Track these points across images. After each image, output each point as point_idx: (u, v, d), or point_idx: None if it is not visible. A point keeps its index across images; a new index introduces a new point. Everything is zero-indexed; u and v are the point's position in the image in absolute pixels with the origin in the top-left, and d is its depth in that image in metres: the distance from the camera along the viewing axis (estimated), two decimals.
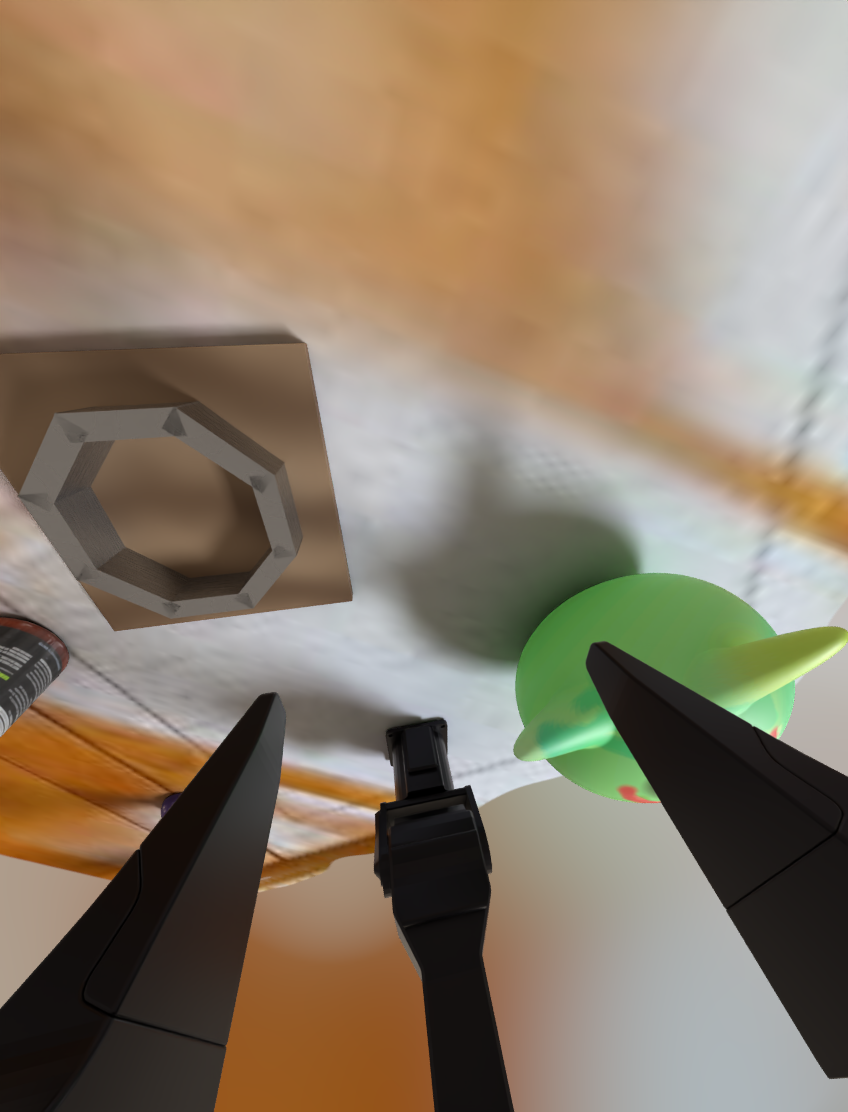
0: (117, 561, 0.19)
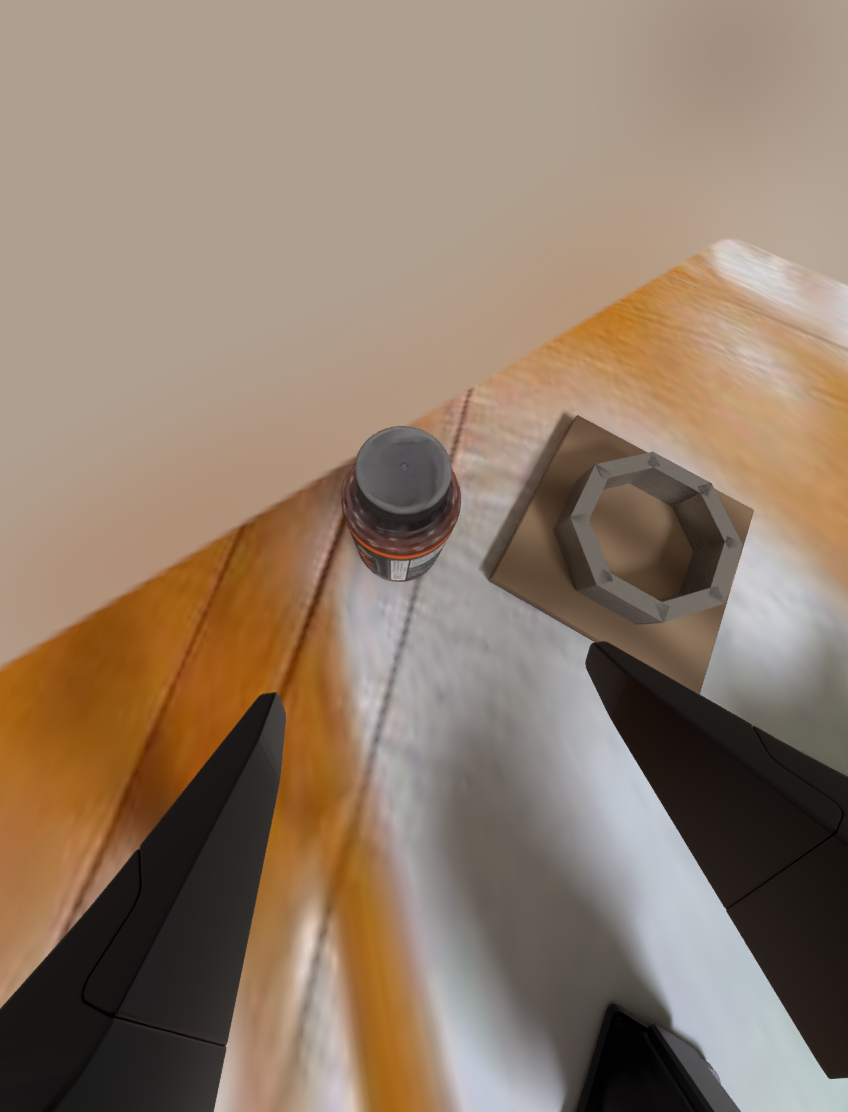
0: None
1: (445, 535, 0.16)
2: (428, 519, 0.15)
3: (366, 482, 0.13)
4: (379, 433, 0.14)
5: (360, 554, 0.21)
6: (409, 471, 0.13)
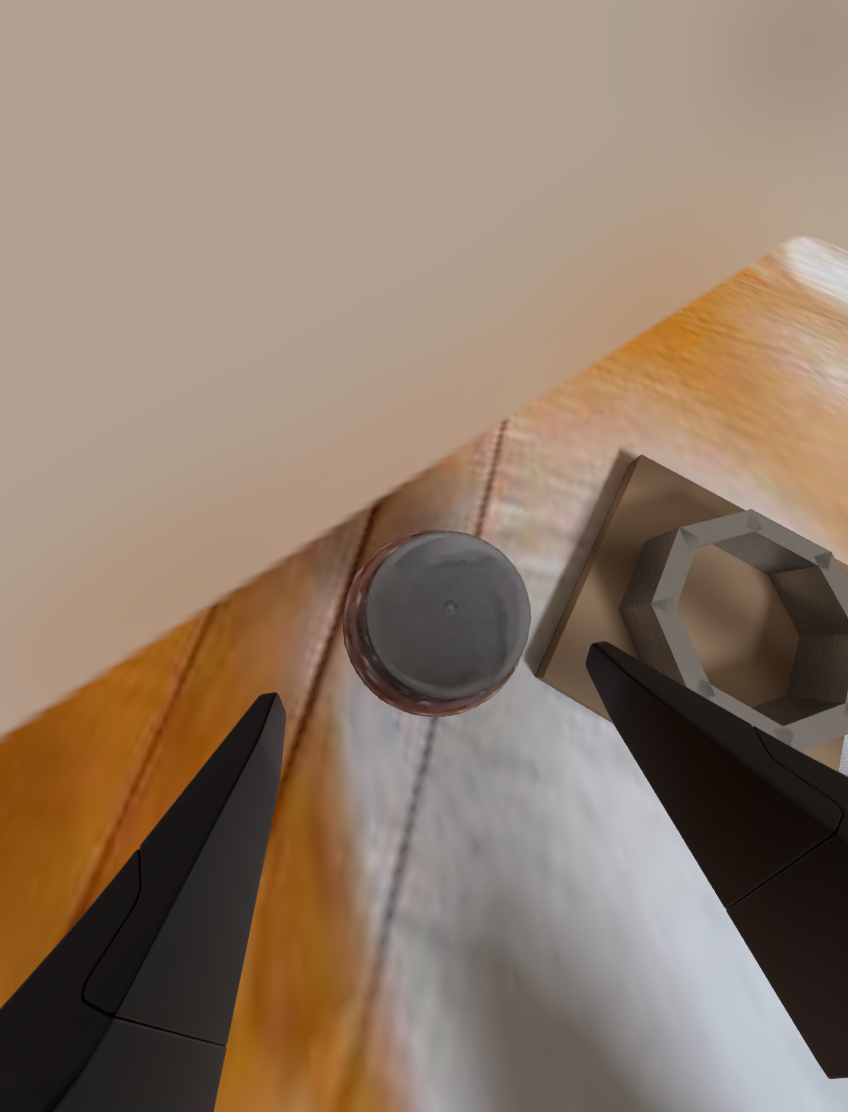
0: None
1: (504, 683, 0.10)
2: None
3: (386, 641, 0.07)
4: (407, 546, 0.08)
5: None
6: (460, 617, 0.08)
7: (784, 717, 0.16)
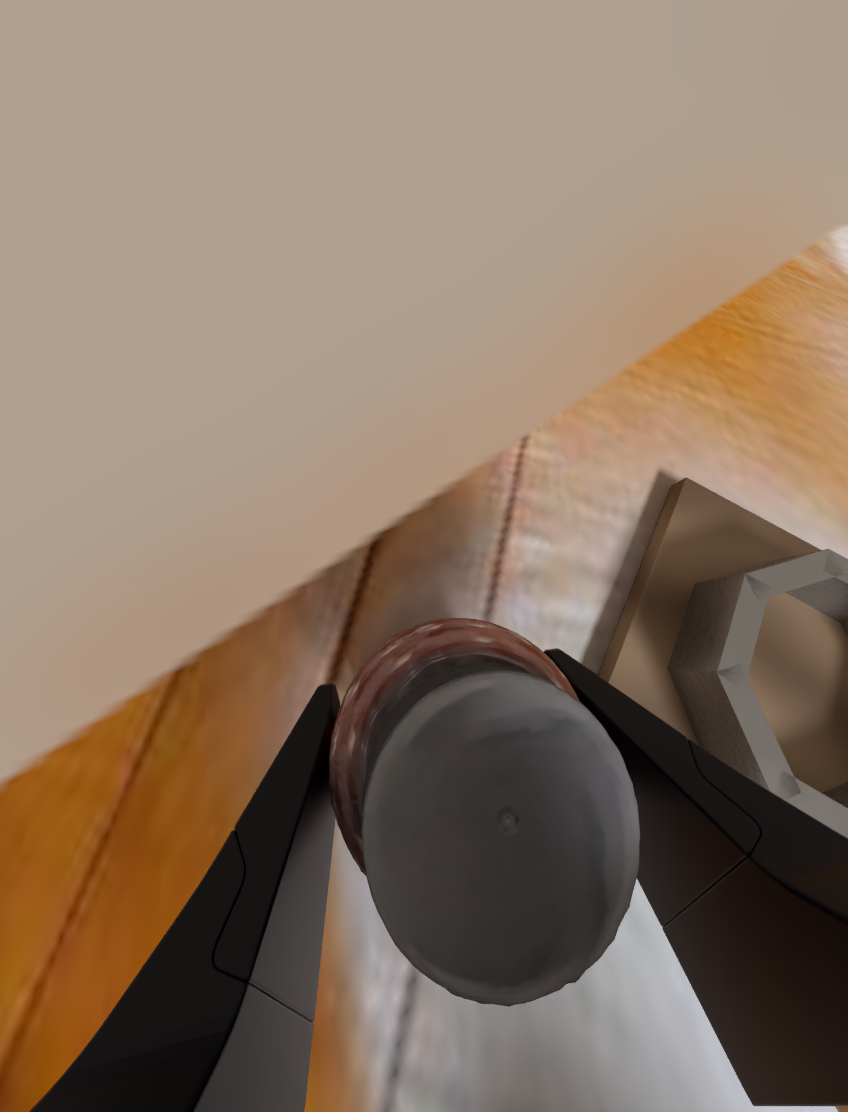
0: None
1: None
2: None
3: (397, 900, 0.04)
4: (431, 706, 0.05)
5: None
6: (525, 840, 0.04)
7: None
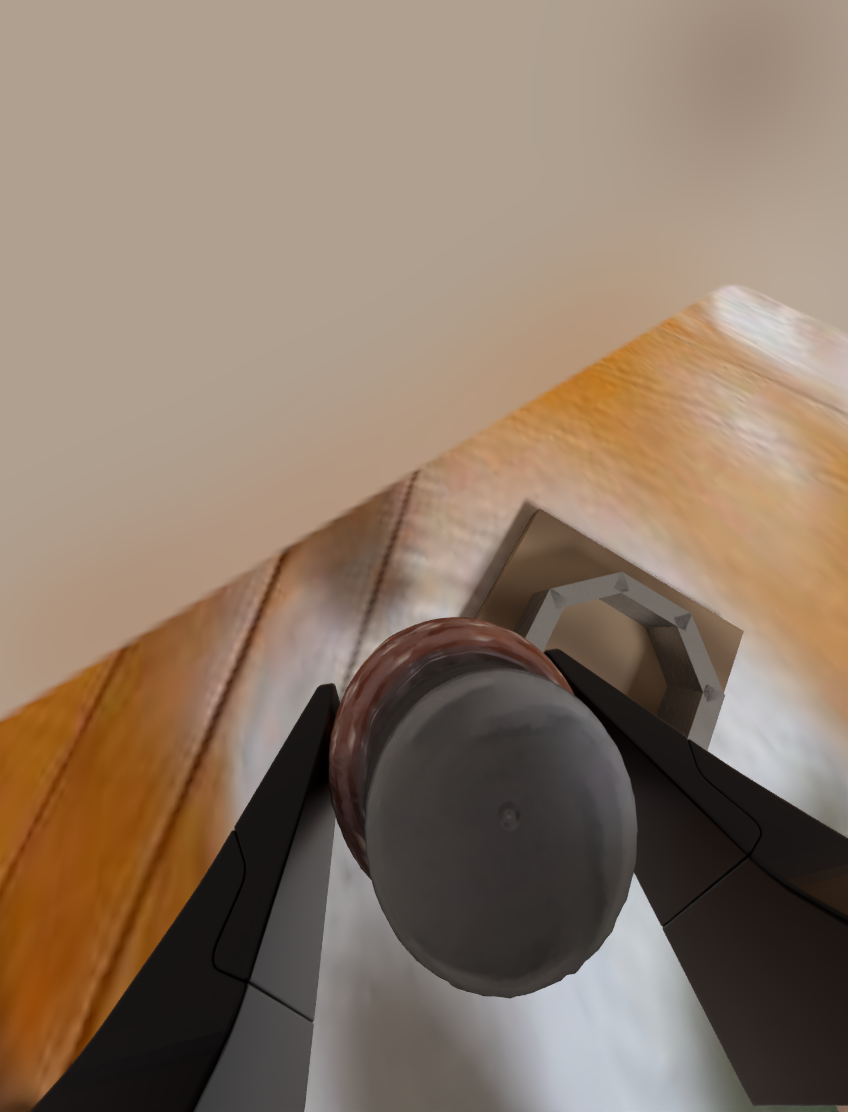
0: None
1: None
2: None
3: (400, 895, 0.04)
4: (433, 703, 0.05)
5: None
6: (526, 834, 0.05)
7: None
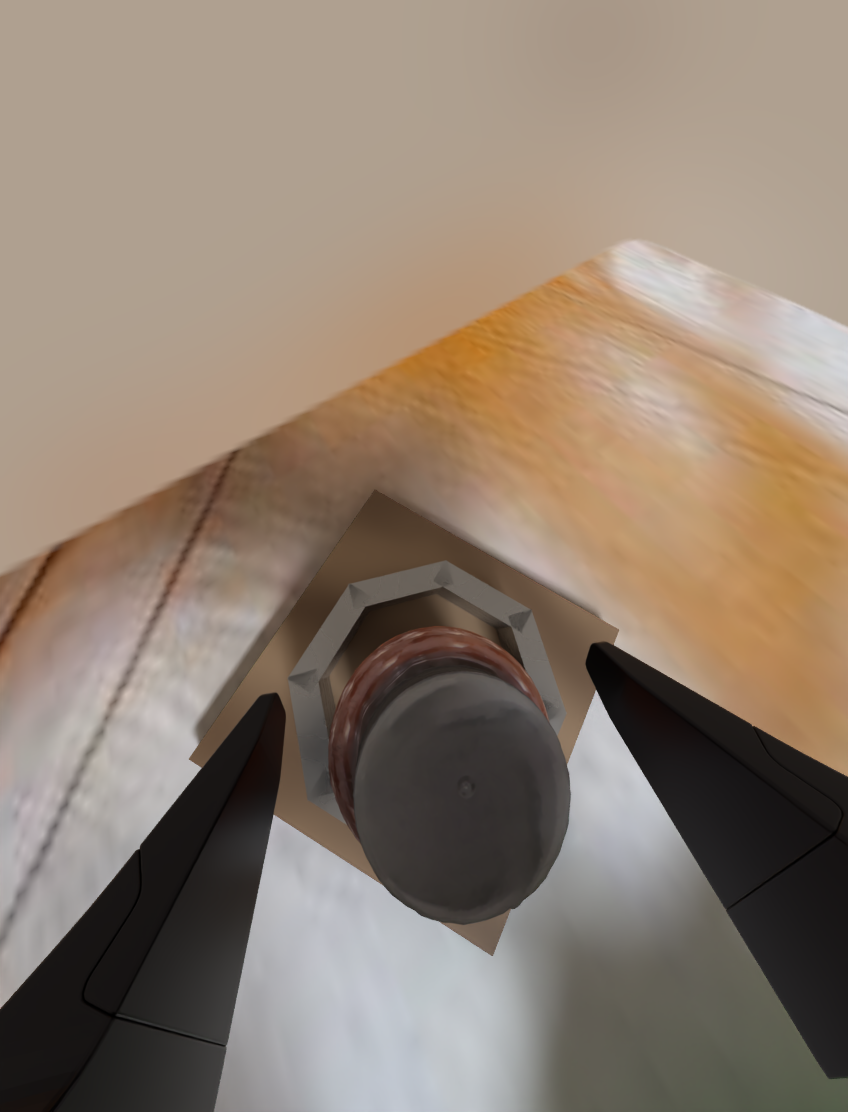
0: (325, 686, 0.15)
1: None
2: None
3: (380, 845, 0.05)
4: (408, 699, 0.06)
5: None
6: (479, 802, 0.06)
7: None
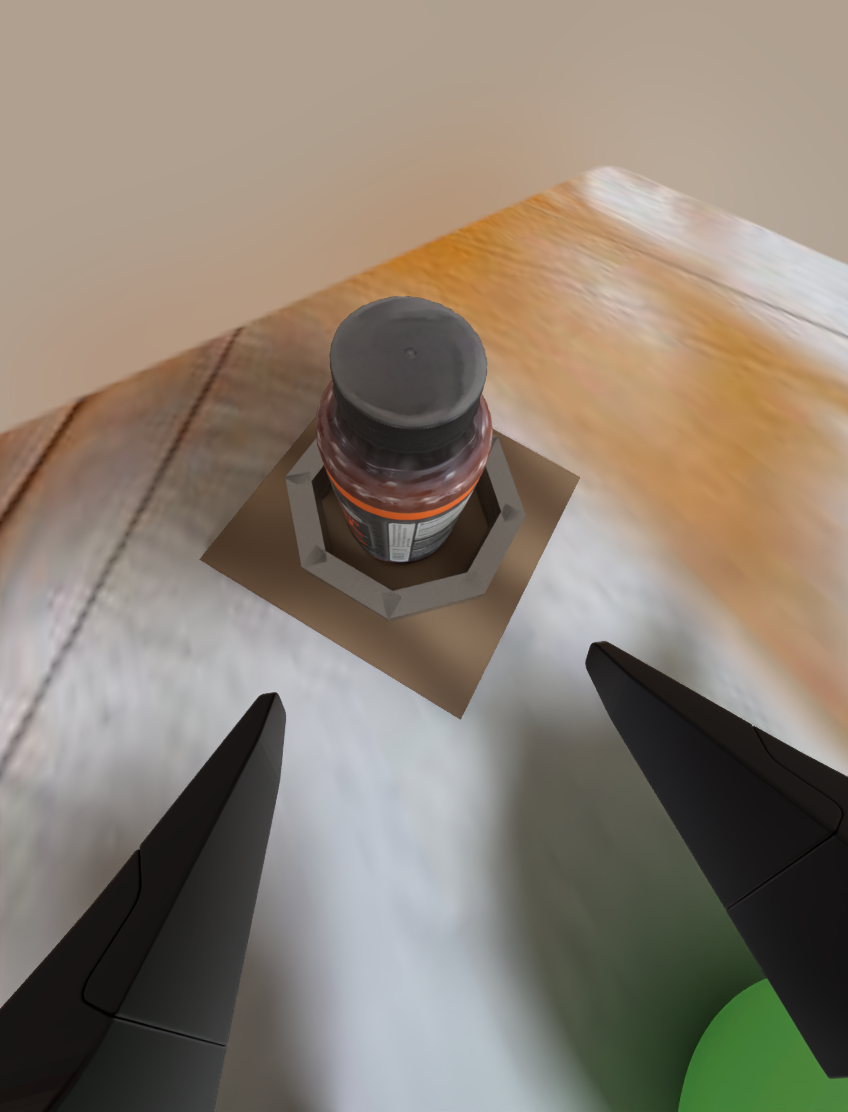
0: (317, 496, 0.17)
1: (470, 483, 0.10)
2: (447, 452, 0.09)
3: (347, 375, 0.08)
4: (370, 304, 0.08)
5: (349, 525, 0.16)
6: (419, 361, 0.08)
7: None
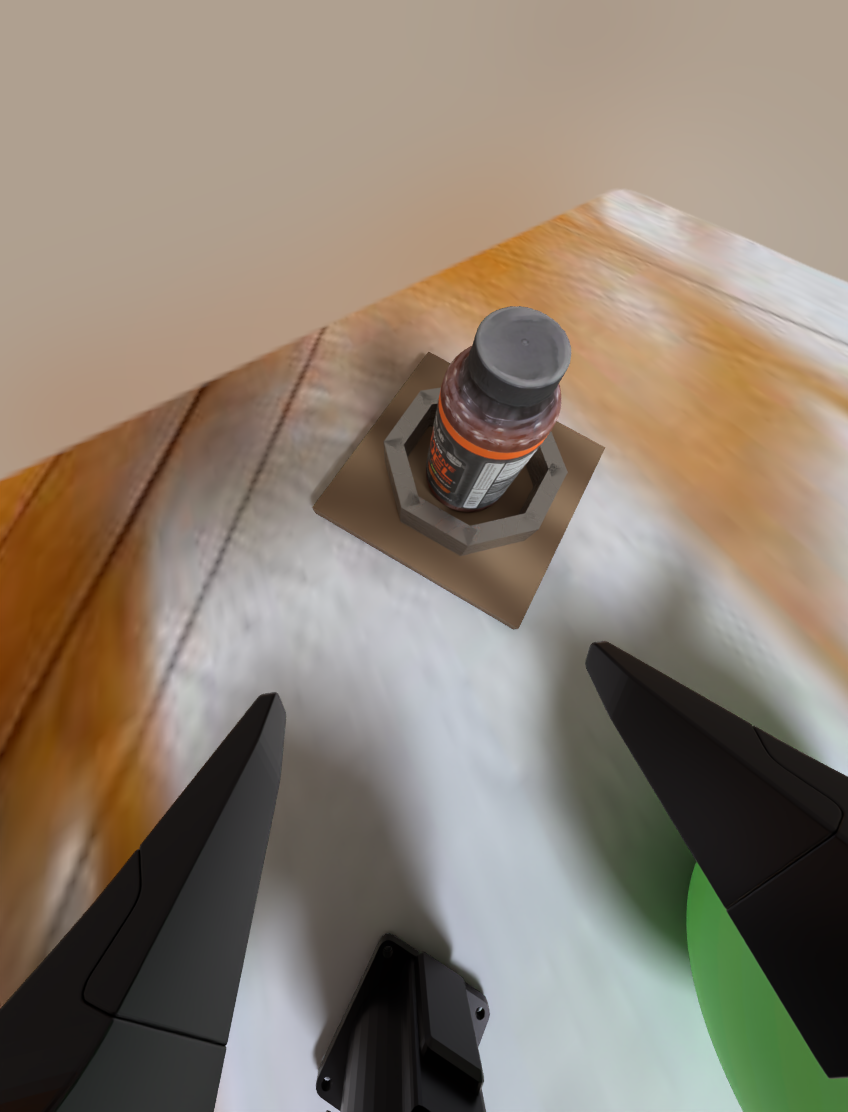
0: None
1: (548, 432, 0.15)
2: (538, 408, 0.14)
3: (489, 355, 0.13)
4: (497, 311, 0.13)
5: (436, 476, 0.21)
6: (530, 347, 0.13)
7: None
